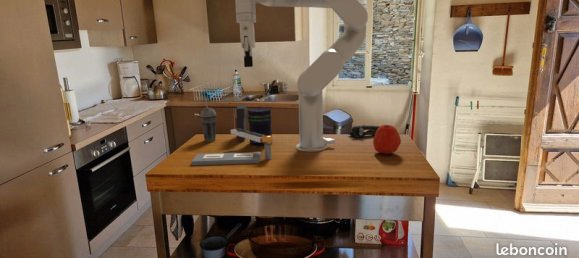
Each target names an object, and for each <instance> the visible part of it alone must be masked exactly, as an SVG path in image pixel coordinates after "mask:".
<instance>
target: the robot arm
mask: <svg viewBox="0 0 579 258" xmlns="http://www.w3.org/2000/svg"><path fill="white" fill-rule="evenodd" d="M234 3H235V16H236V17H235V18H236V23H237V24H239V36H240V37H239V38H240V45H241V48H242V49H243V65H244V68H253V66H254V65H253V63H254V62H253V61H254V59H253V51H252V49H255V48H256V36H255V25H254V23H255V24H256V23H257V15H256V4H257V3H258V4H261V5H263V6H265V7H277V8H278V7H283V8H290V7H292V8H315V9H316V8H317V9H318V8H319V9H321V8H322V9H332V10H333V12H334V13H335V14H336V15H337V16H338V17H339V18H340V19H341V20H342V23H343V26H344V31H343V33H341V35H340V36H339V37H338V38H337V39H336V41H335V42H333V43H332V44H331V45H330V47H329V48H328V49H326V50H324V51H323V52H322V53H321V54H320V55H319V56H318V57H317V58H316V59H315V60H314V61H313V62H312V63H311V65H309V66H308V67H307V68H306V69H305V70H304V71H302V72H301V73H300V75H299V76H298V78H297V81H296V85H297V86H296V87H297V90H298V129H299V130H298V131H299V134H298V135H299V143H297V144H296V145H295V149H296V150H298V151H301V152H320V151H324V150H326V149H328V146H327V145H328V144H329V145H335V144H336V141H335V138H325V137H324V122H323V121H324V117H323V115H324V112H323V110H324V109H323V108H324V107H323V105H324V104H323V103H324V101H323V96H324V95H323V90H324V89H325V88H326V87H327V86H329V84H330V83H331V82H332V81H333V80H335V78H336V77H337V76H338V75H339V74H340V73H341V72H342V70H343V69H344V65H345V64H346V63H347V62H348V61H349V60H350V59H351V58H352V57H353V55H354V54H356V52H357V51H359V49H360V48H361V47H362V46H363V44H364V41H365V38H366V33H367V26H366V25H367V23H368V19H369V14H368V11H367V9H366V7H365V6H364V5H363V4H362V3H361V2H360V1H359V0H235V2H234Z"/></svg>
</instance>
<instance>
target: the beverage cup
mask: <svg viewBox="0 0 579 258" xmlns="http://www.w3.org/2000/svg"><path fill="white" fill-rule="evenodd" d="M205 103H206V107H204V108H202V110H201V111H200V115H199V118H200V122H201V128H202V132H203V133H202V134H203V138H204V142H206V143H212V142H215V141H216V137H217V136H216V133H217V129H216V128H217V117H218V116H217V112H216V111H215V109H214V108H212V107H208V106H209V105H208V98H207V97H205Z"/></svg>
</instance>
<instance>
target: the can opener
mask: <svg viewBox="0 0 579 258" xmlns="http://www.w3.org/2000/svg"><path fill="white" fill-rule="evenodd" d="M380 126H381V125H366V124H363V125H354V126H352V128H351V131H349V132H348V135H349V136H352V137H355V138H361V139H362V138H363V137H365V136H368V135H369V136H371V135H372V136H375V133H376V131H377V129H378V128H379V127H380Z"/></svg>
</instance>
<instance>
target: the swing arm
mask: <svg viewBox="0 0 579 258" xmlns="http://www.w3.org/2000/svg"><path fill="white" fill-rule="evenodd" d="M230 134H231V135H234V136H236V135H237V136H240V137H244V138H246V139H247V140H249V141H250V140H253V141H257V142H263V143H264V144H270V143H272V144H273V135H272V136H270V135H266V136H265V135H261V134H258V133H254V132H250V130H248V129H247V130H243V129H240V128H238V129H236V128H234V129H230Z"/></svg>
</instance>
